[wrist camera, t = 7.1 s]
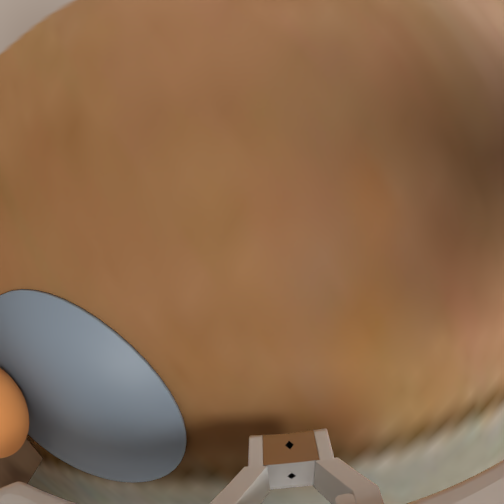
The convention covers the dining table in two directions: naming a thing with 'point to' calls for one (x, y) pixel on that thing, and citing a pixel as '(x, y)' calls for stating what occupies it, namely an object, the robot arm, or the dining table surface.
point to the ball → (12, 416)
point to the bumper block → (19, 465)
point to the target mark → (88, 390)
